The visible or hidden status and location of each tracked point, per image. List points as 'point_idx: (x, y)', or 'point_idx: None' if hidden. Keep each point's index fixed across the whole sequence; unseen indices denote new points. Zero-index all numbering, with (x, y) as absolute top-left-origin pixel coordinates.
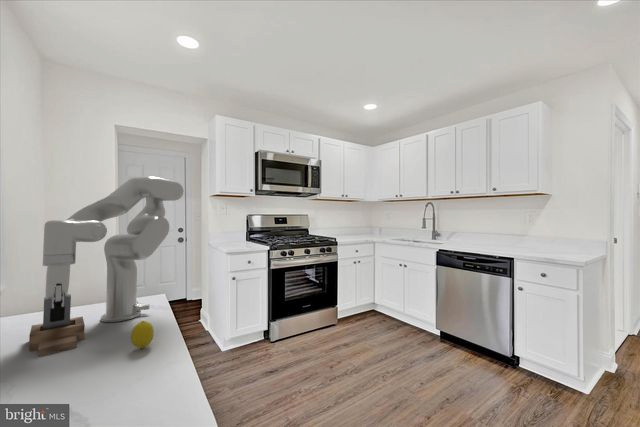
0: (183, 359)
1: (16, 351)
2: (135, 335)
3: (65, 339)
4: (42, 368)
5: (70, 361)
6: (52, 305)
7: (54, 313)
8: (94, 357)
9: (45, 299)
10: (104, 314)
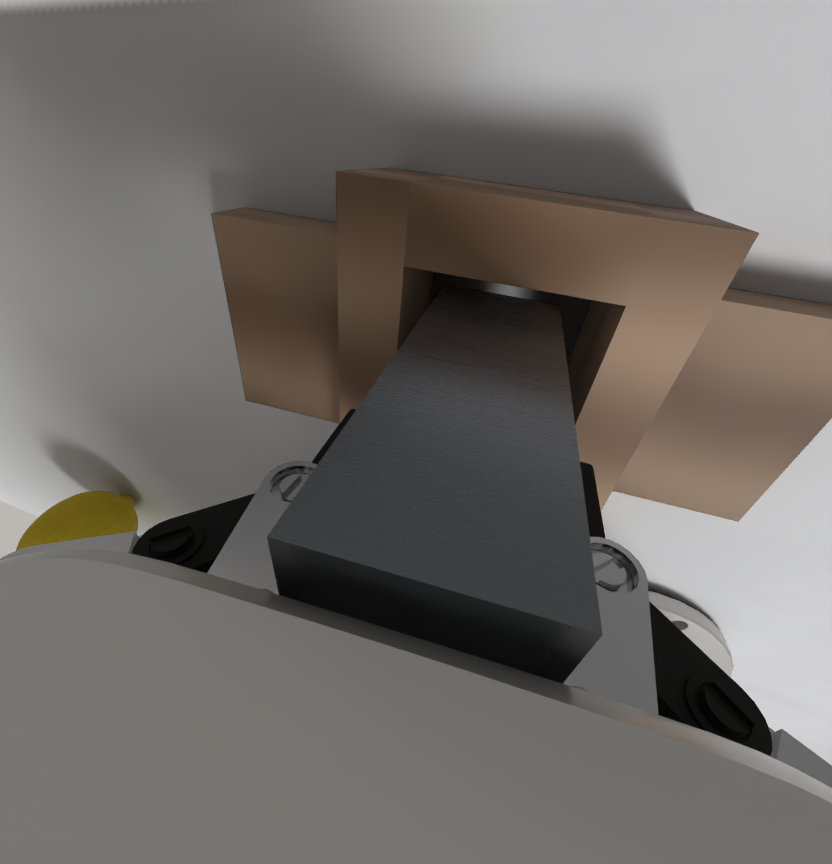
0: (21, 506)
1: (471, 75)
2: (37, 519)
3: (303, 369)
4: (64, 204)
5: (105, 316)
6: (251, 503)
7: (330, 444)
8: (113, 388)
9: (275, 554)
10: (708, 638)
